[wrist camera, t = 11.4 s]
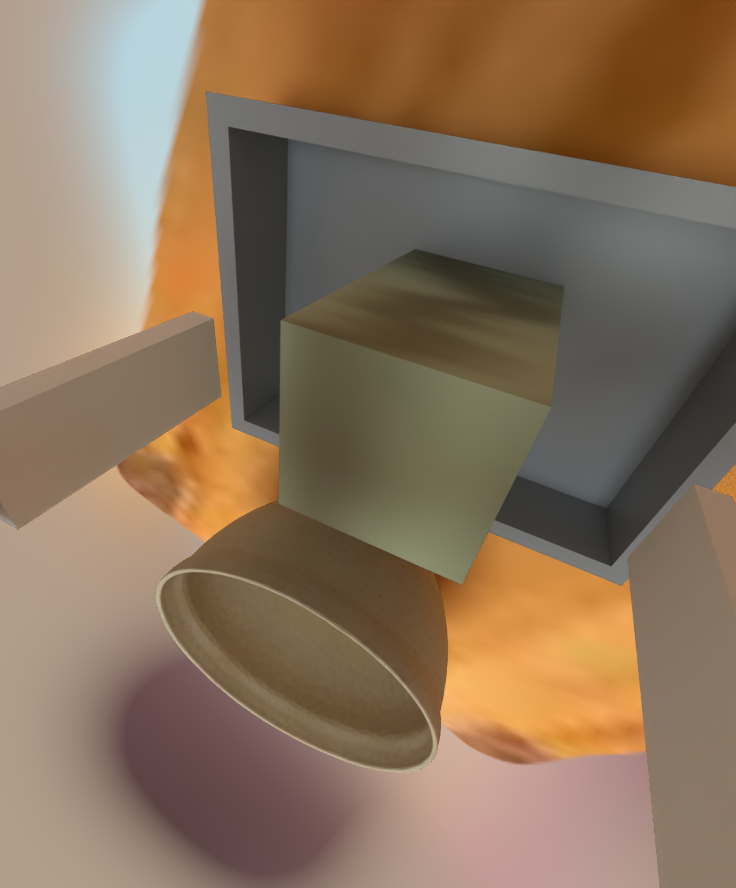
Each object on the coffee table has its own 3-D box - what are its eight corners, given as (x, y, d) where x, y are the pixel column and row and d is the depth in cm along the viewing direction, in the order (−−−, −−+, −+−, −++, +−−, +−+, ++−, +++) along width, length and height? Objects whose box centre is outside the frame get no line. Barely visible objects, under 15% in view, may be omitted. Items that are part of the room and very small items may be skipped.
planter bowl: (254, 534, 35) (153, 649, 27) (298, 392, 24) (155, 509, 16) (415, 638, 33) (362, 793, 25) (535, 535, 23) (512, 742, 15)
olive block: (563, 286, 15) (551, 407, 8) (507, 416, 19) (461, 584, 11) (415, 248, 17) (280, 320, 9) (389, 377, 20) (278, 503, 13)
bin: (849, 208, 12) (956, 227, 9) (614, 515, 20) (621, 585, 17) (282, 105, 17) (205, 91, 13) (279, 391, 25) (232, 427, 21)
